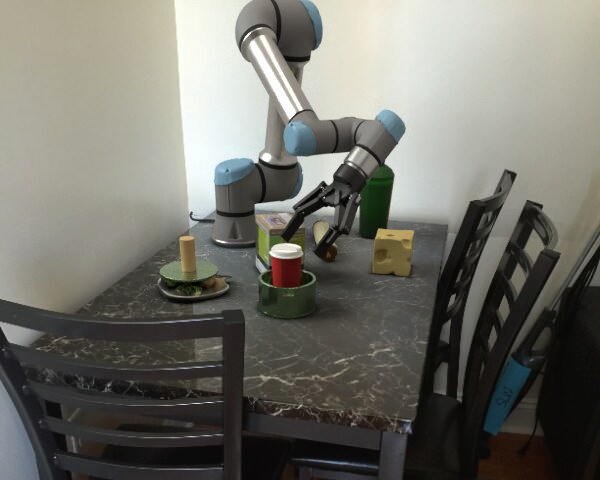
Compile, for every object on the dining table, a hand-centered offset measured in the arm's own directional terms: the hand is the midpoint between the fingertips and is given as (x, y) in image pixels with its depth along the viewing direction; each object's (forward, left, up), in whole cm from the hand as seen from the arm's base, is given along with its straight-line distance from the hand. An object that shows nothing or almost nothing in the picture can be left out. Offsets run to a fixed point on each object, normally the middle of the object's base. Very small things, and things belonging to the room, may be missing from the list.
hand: (299, 246), depth 150 cm
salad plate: (-26, -12, -14) cm, 32 cm away
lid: (-26, -12, -9) cm, 30 cm away
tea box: (-18, +12, -14) cm, 26 cm away
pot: (-1, -3, -14) cm, 15 cm away
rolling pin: (-24, +37, -14) cm, 47 cm away
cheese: (+1, +37, -14) cm, 39 cm away
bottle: (-22, +59, -14) cm, 64 cm away
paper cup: (-1, -3, -14) cm, 14 cm away
